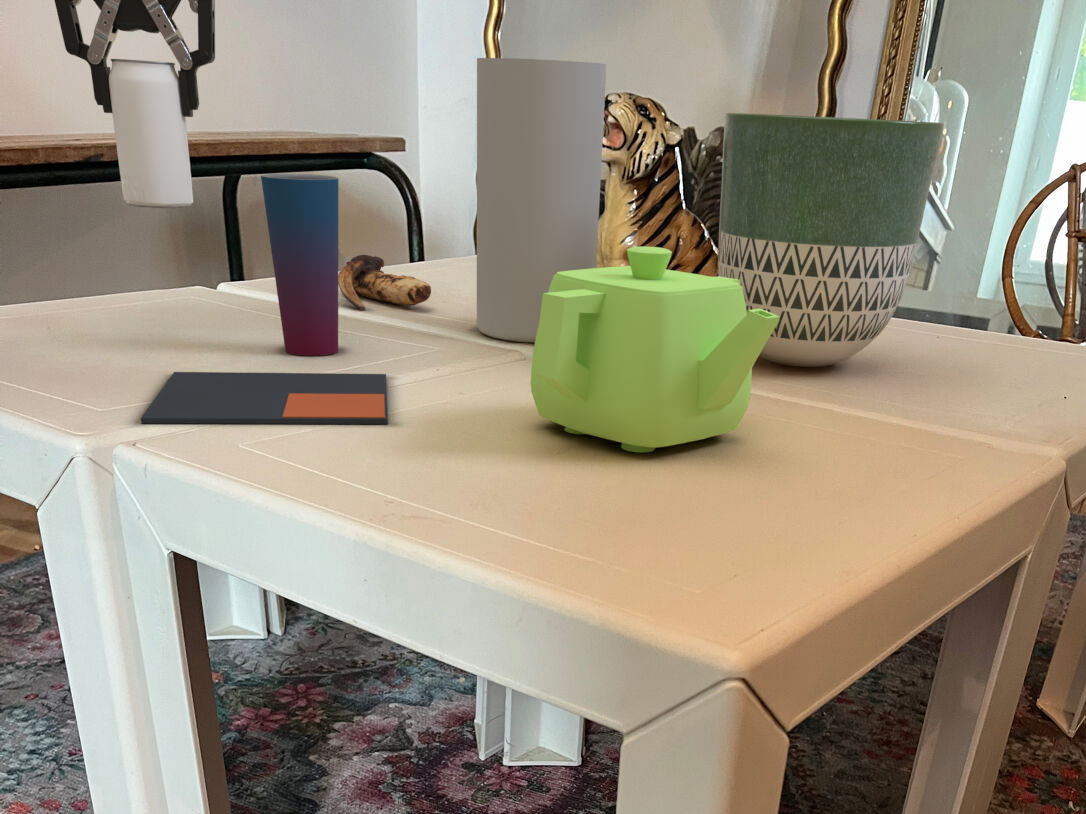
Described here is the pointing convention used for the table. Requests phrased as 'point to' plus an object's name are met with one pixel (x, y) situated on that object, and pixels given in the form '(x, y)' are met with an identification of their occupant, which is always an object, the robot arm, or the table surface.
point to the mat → (270, 399)
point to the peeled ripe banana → (379, 283)
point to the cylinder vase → (534, 184)
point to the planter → (823, 225)
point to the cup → (305, 258)
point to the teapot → (646, 352)
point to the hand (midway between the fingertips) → (148, 114)
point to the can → (150, 134)
